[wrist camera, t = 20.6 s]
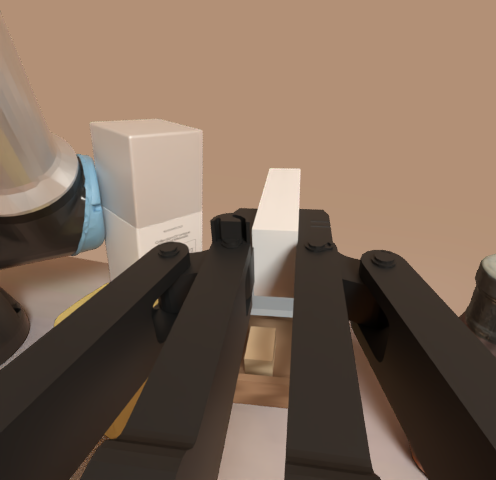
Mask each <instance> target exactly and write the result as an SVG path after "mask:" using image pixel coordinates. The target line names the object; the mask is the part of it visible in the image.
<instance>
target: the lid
mask: <svg viewBox="0 0 496 480" xmlns="http://www.w3.org/2000/svg"><path fill="white" fill-rule="evenodd" d="M293 301H294V298H284V297H269V296H254V287H253V292H252V309H251V314H250V315H261V316H276V317H291V318H293Z"/></svg>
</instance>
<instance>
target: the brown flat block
mask: <svg viewBox="0 0 496 480" xmlns="http://www.w3.org/2000/svg"><path fill="white" fill-rule="evenodd" d="M292 321H293V318H291V317H276V316H261V315H250V319H249V324H248V329H247V334H246V339H245V344H244V349H243V354H242V359H241V364H240V369H239V374H238V379H237V384H236V389H235V394H234V399H233V403H242V404H251V405H260V406H269V407H279V408H288V402H289V381H290V361H291V341H292Z"/></svg>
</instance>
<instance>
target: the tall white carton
mask: <svg viewBox="0 0 496 480" xmlns="http://www.w3.org/2000/svg"><path fill="white" fill-rule="evenodd" d="M90 131H91V138H92V145H93V152H94V159H95V167H96V174H97V179H98V184H99V190H100V197H101V207H102V211H103V218H104V227H105V243H106V250H107V257H108V265H109V272H110V279H111V281H112V280H114V279H115V278H116V277H117V276H119V275H120V274H121V273H122V272H124V271H125V270H126V269H127V268H129V267H130V266H131V265H132V264H134V263H135V262H136V261H137V260H139V259H140V258H141V257H142V256H144V255H145V254H146V253H147V252H149V251H150V250H151V249H152V248H154V247H156V246H157V245H160V244H163V243H165V242H180V243H183V244H186V245H187V246H188V248H189V253H194V252H201V251H202V165H203V164H202V163H203V162H202V158H203V154H202V153H203V131H202V130H200V129H196V128H192V127H188V126H184V125H181V124H176V123H173V122H169V121H165V120H161V119H144V120H122V121H103V122H102V121H101V122H90Z"/></svg>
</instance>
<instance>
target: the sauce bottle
mask: <svg viewBox="0 0 496 480" xmlns="http://www.w3.org/2000/svg"><path fill="white" fill-rule="evenodd" d="M475 280H476V287H475V290H474V292H473V296H472V298H471V302H470V304H469V306H468V307H467V309H466V311H465V312H464V313H463V314H462V315H461V316H460V317H459V318H460V319H461V321H462V322H463V323H464V324H465V325H466V326H467V327H468V328H469V329H470V330H471V331H472V332H473V333H474V335H475V336H476V337H477V338H478V339H479V340H480V341H481V342H482V343H483V344H484V345H485V346H486V347H487V348H488V350H489V351H490V352H491V353H492V354H493V355H494V356H495V357H496V254H494V255H490V256H487V257H485V258H484V259H483V260H482V261H481V263H480V266H479V269H478V270H477V273H476V276H475ZM409 444H410V443H409ZM410 450H411V453H412V457H413V459H414V461H415V462H416V464H417V465H418V467H419V468H420V469H421V470H422V471H423V472H424V470H423V468H422V466H421V464H420V462H419V460H418V458H417V456H416V454H415V452H414V450H413V448H412V446H411V444H410ZM424 473H425V472H424Z"/></svg>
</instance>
